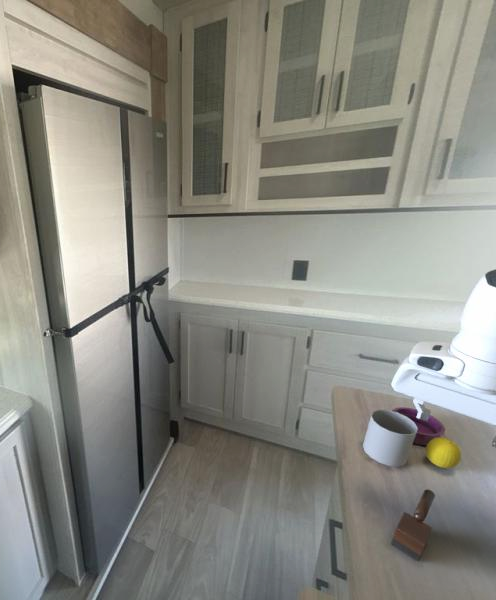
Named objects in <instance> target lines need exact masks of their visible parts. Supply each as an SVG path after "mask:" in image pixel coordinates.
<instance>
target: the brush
mask: <svg viewBox="0 0 496 600" xmlns="http://www.w3.org/2000/svg"><path fill="white" fill-rule="evenodd" d="M435 497H436V495H435V492H434V491H433V490H431V489H428V488H427V489H424V490H423V493H422V494H421V497H420V499H419V501H418V503H417V506H416V507H415V509H414V512H413V515H411V514H409V513H407V512H406V511H404V512H403V514H402V516H401V517H400V520H399V522H398V524H397V526H396V528H395V531H394V534H393V536H392V539H391V542H390V544H391V545H392V546H394V547H395V548H397V549H399V550H400V551H402V552H404V553H405V554H406V555H408V556H410V557H411V558H413V559H415V560H416V561H420V559H421V556H422V554H423V551H424V550H425V547H426V544H427V542H428V540H429V537H430V535H431V532H432V529H433V527H432V526H430V525H429V524H427V523H425V522H424V521H425V520H426V519H427V516H428V514H429V511H430V509H431V506H432V504H433V502H434V499H435Z"/></svg>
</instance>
